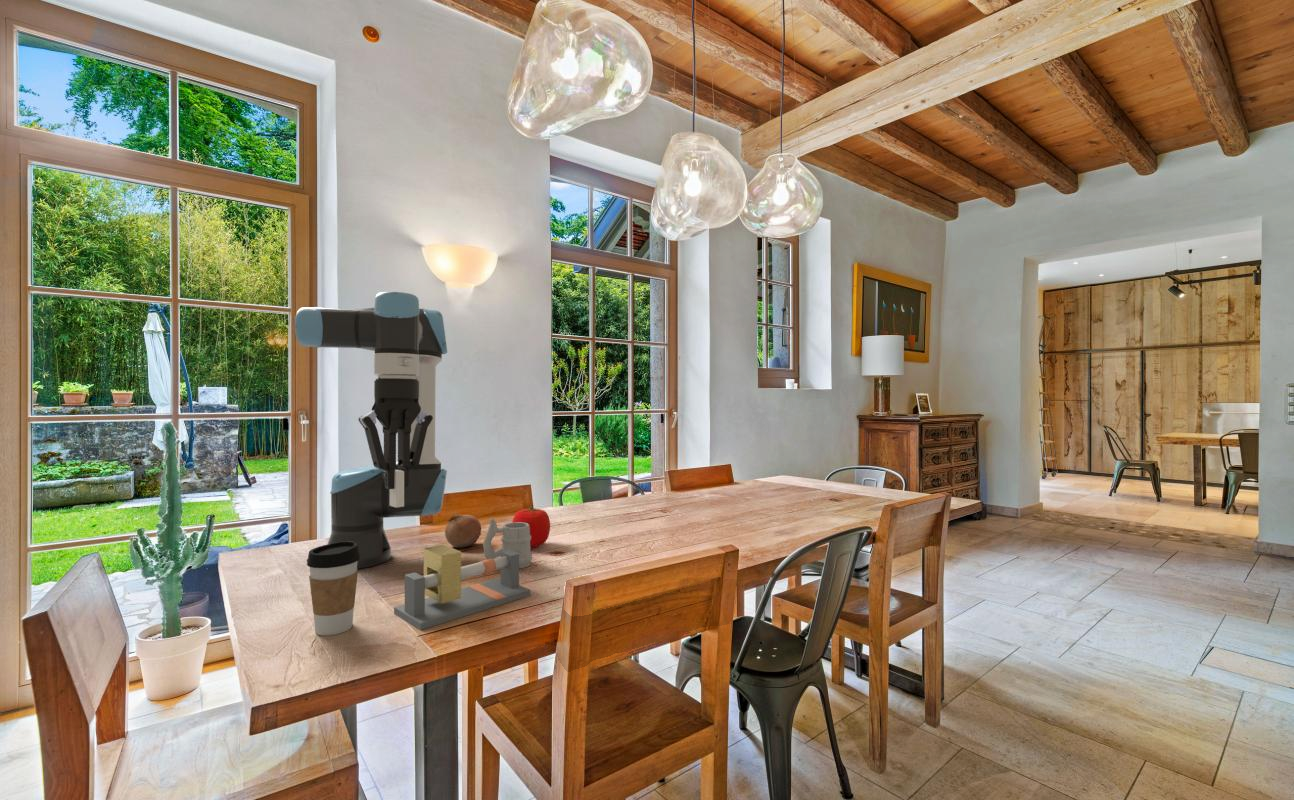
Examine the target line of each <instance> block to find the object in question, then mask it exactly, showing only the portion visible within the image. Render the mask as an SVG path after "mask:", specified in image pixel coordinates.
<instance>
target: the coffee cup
mask: <svg viewBox="0 0 1294 800" xmlns="http://www.w3.org/2000/svg"><path fill="white" fill-rule="evenodd" d="M359 556H360V553H359V549H358V543H357V542H354V541H341V542H336V543H331V544H328V543H326V544H324V545H319V546H317V547H314V548H312V549H310V550H309V552H308V557H307V559H306V566H307V567H309V573H310V575H309V579H308V580H309V586H310V588H309V589H310V595H311V596H310V597H311V604H312V605H311V606H312V613H313V619H314V623H313V624H314V632H315V634H316V635H319V636H322V637H323V636H327V637H329V636H334V635H339V634H342V633H345V632H347V631H349V630H351V628H353V624H354V623H353V622H354V610H355V602H356V601H355V600H356V593H357V592H356V591H357V583H358V574H359V573H358V571H359V570H358V569H359V568H358V569H357V561H358V560H359V559H360V557H359Z"/></svg>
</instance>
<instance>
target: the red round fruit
mask: <svg viewBox="0 0 1294 800" xmlns="http://www.w3.org/2000/svg"><path fill="white" fill-rule="evenodd" d="M515 522H523V523H528V524H529V527H530V535H531V540H530V549H533V548H534V549H535V548H537V547H539V546H542V545H543V544H545V543H546V541H548V538H549V535H550V531H551V521H550V517H549V514H548V513H547V511H546V510H543V509H541V508H540V509H538V508H536V507H535V508H533V507H530V508H523V509H520V510H518V511H517V512H516V513H515V514H514V516H513V519H512V521H511V523H515Z"/></svg>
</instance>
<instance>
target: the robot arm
mask: <svg viewBox="0 0 1294 800" xmlns="http://www.w3.org/2000/svg"><path fill="white" fill-rule="evenodd" d="M443 317H444V316H443V314H442V312H440V311H439V310H436V309H426V308H423V307H422V308H420V302H419V297H417V296H416V295H415V294H412V293H409V292H401V291H400V292H399V291H383V292H378V293H377V294H376V295H375V298H374V307H367V308H354V309H347V308H335V307H334V308H331V307H330V308H328V307H319V306H314V307H300V308H299V309H298V310H297V311H296V314H295V317H294V332H295V337H296V340H297V342H298V344H299V345H300V346H302V347H312V348H317V349H318V348H319V349H320V348H343V349H344V348H345V349H349V348H350V349H353V348H355V349H363V350H367V351H374V359H373V360H374V365H373V366H374V367H373V368H374V370H373V371H374V373H373V374H374V375H375V376H377V378H375V380H374V382H373V383H374V385H373V386H374V388H373V389H374V391H373V395H374V396H373V397H374V403H373V405H372V407H371V411H370V412H368V413H367V414H365V415H360V416H359V417H358V418H357V419H358V422H359V424H360V425H361V426H362V428H363V429H364V433H365V437H366V440H367V444H368V449H369V451H370V453H369V454H370V456H371V460H372V464H373V465H369V466H368V465H366V466H360V467H354V468H350V469H346V470H342V471H339V472H337V473H336V474H334V475H333V476H332V478H331V487H330V488H331V489H330V493H329V494H330V496H331V497H330V498H331V500H330V503H331V504H330V507H331V508H330V510H331V511H330V512H331V516H330V517H331V530H330V531H331V532H330V536H329V538H328V541H327V544H331V543H336V542H341V541H354V542H357V543H358V549H359V553H360V556H359V557H360V559H359V560H358V561H357V569H365V568H370V567H373V566H378V565H380V564H384V563H386V562H387V561H389V560H390V559H391V558H392V556H391V555H392V549H391V548H392V547H391V545H390V542H389V539H388V536H387V533H386V531H385V529H384V518H385V519H386V518H399V517H400V518H402V517H403V518H404V517H418V516H419V517H423V516H432V515H437V514H438V513H440V512H441V510H442V507H443V501H444V495H445V490H446V489H445V488H446V480H447V475H448V474H447V473H448V471H447V470H446V469H445V468H442V462H441V461H440V460H439V459H438V458H437V456H436V371H437V370H436V367H437V365H439V363H441V361H442V360H443V359H442V357H443V356H442V355H445V354H447V353H448V347H447V339H446V331H445V325H444V318H443ZM377 420H378V423H380V425H381V426H382V433H383V447H382V443H381V439H380V435H379V432H378V428H377V426H376V424H377Z"/></svg>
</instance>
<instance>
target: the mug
mask: <svg viewBox="0 0 1294 800" xmlns="http://www.w3.org/2000/svg"><path fill="white" fill-rule="evenodd" d="M489 522H490V523H489V526H488V529H487V532H486V535H485V537H484V541H483V543H482V548H483V555H484V558H485V560H487V559H491V558H492V559H495V558H499V557H501V552H503V551H507V550H510V551H512V552H515V553H518V554H519V569H525V568H528V567H530V566H531V565H532V564H531V563H532V562H531V561H532V560H533V554H532V553H531V548H530V540H531V535H530V527H529V524H528V523H523V522H515V523H512V522H509V523H505V524H504V525H503V526H502V527H498V524H497V522H496V521H495V519H494V518H490V519H489ZM500 533H502V536H501V539H500V540H501V542H502V544H501V545H502V547H501V548H499V549H497V550H494V549H493V548H492V540H493V539H494V537H495V536H496V534H500Z"/></svg>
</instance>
